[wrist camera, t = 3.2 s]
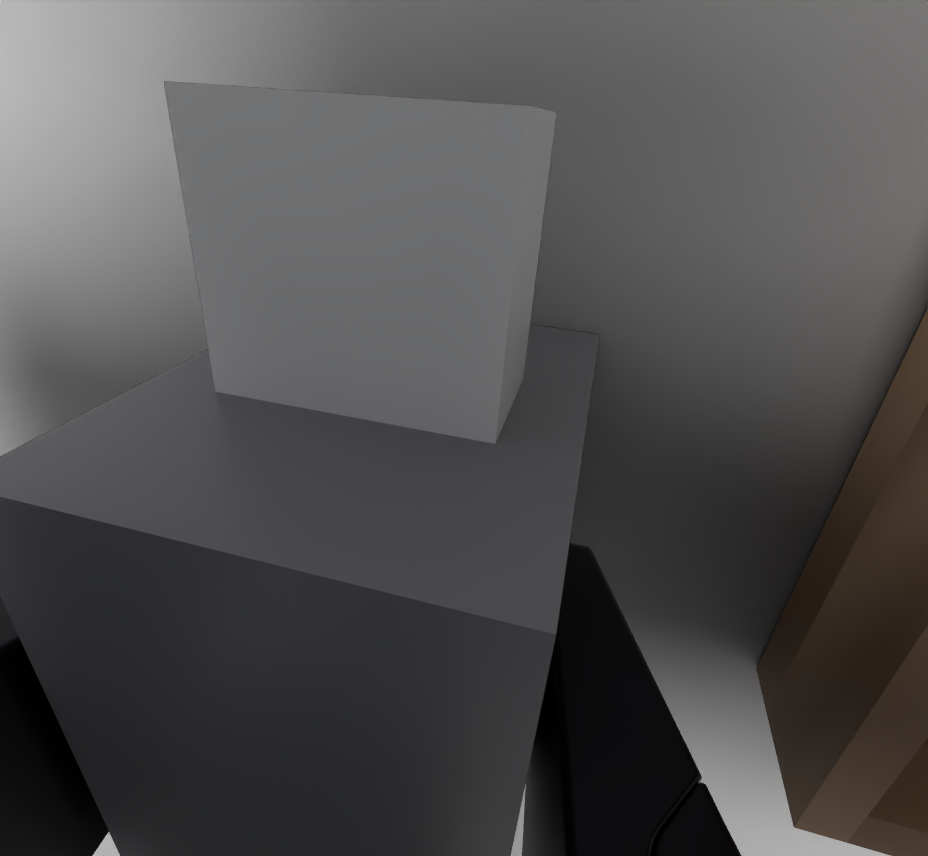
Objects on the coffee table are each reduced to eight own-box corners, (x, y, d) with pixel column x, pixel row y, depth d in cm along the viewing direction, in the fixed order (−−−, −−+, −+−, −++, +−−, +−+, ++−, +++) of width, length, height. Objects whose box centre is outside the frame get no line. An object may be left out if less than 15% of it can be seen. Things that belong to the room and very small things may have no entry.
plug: (526, 721, 11) (460, 1093, 7) (339, 668, 12) (174, 973, 8) (640, 121, 6) (666, 97, 2) (301, 97, 7) (-256, 40, 3)
